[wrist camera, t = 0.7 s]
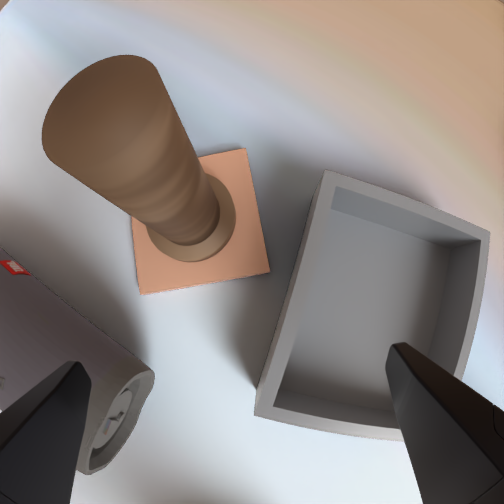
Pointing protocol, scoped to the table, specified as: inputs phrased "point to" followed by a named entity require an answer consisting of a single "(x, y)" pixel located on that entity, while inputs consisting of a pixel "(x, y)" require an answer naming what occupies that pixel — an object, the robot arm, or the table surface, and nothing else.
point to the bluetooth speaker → (60, 351)
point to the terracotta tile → (224, 262)
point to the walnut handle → (139, 156)
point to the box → (369, 306)
